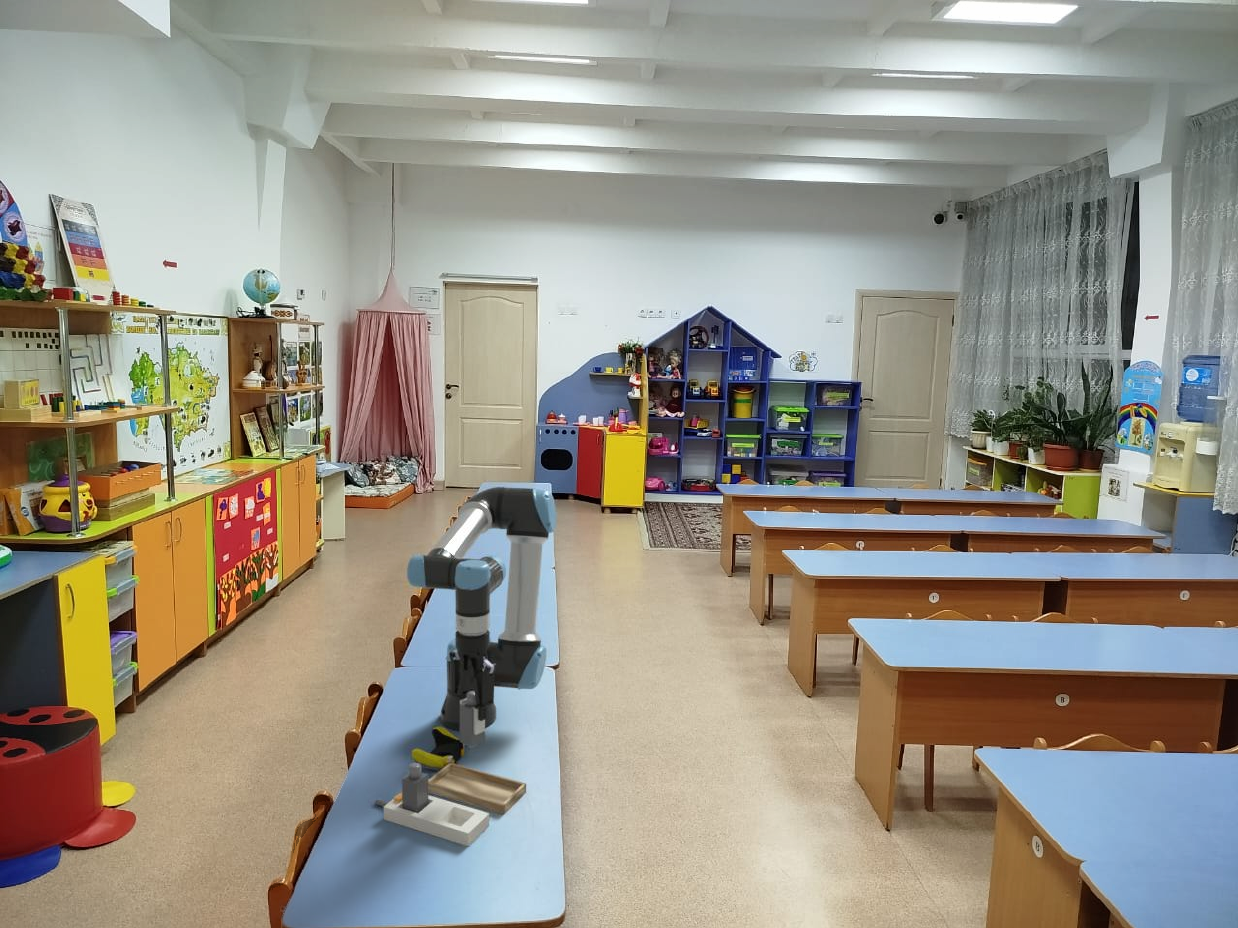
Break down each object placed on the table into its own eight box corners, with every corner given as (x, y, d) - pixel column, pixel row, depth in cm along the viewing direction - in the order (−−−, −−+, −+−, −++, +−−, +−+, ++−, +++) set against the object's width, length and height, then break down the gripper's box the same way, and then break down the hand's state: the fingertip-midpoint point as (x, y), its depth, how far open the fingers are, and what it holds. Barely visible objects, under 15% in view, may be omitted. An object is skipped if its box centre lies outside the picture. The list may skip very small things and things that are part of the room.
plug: (473, 735, 192) (473, 688, 190) (484, 740, 189) (485, 693, 188) (459, 741, 189) (459, 693, 187) (471, 747, 186) (471, 698, 184)
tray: (450, 770, 203) (450, 762, 202) (526, 792, 194) (526, 783, 194) (425, 791, 194) (425, 782, 193) (503, 814, 185) (503, 805, 185)
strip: (387, 794, 192) (386, 779, 191) (489, 825, 181) (489, 809, 180) (363, 812, 185) (363, 796, 184) (468, 846, 174) (468, 829, 173)
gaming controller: (408, 772, 202) (446, 778, 199) (407, 751, 201) (446, 757, 198) (435, 743, 216) (471, 748, 214) (435, 723, 215) (471, 728, 213)
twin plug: (413, 806, 186) (413, 759, 184) (428, 811, 185) (428, 763, 183) (402, 816, 183) (401, 768, 181) (417, 821, 181) (416, 772, 179)
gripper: (434, 625, 187) (435, 722, 191) (485, 644, 177) (485, 747, 180) (460, 617, 193) (460, 712, 197) (511, 635, 183) (510, 735, 186)
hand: (472, 728), depth 188 cm, fingers closed on plug, 4 cm apart
